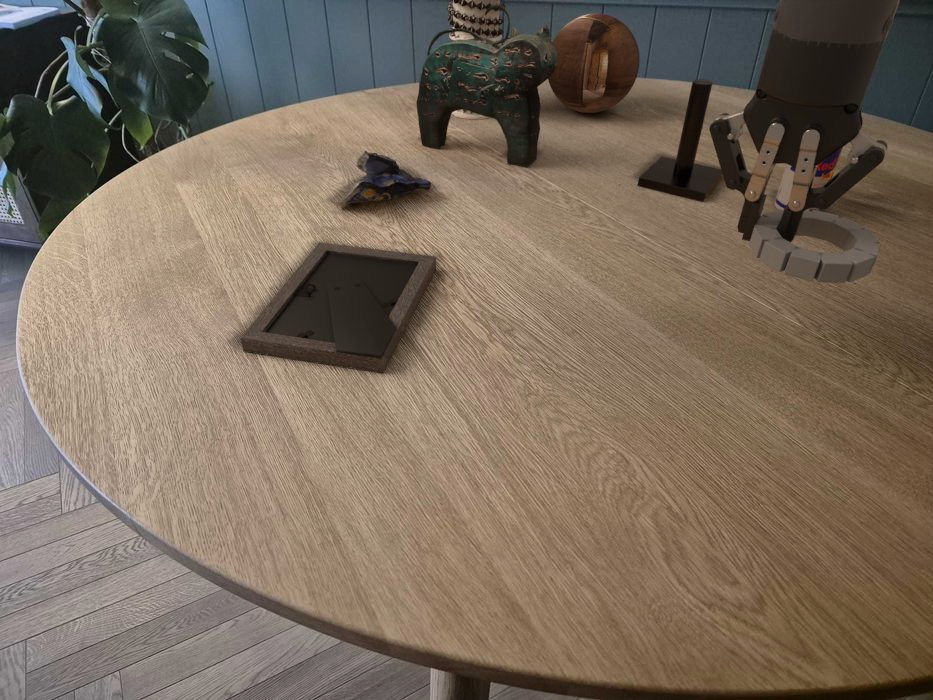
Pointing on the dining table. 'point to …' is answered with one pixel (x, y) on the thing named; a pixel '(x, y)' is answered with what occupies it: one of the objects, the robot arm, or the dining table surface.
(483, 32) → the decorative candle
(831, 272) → the segmented ring
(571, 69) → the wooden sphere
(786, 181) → the energy drink
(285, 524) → the dining table surface
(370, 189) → the snack package
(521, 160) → the ceramic cat
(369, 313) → the picture frame
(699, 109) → the post
